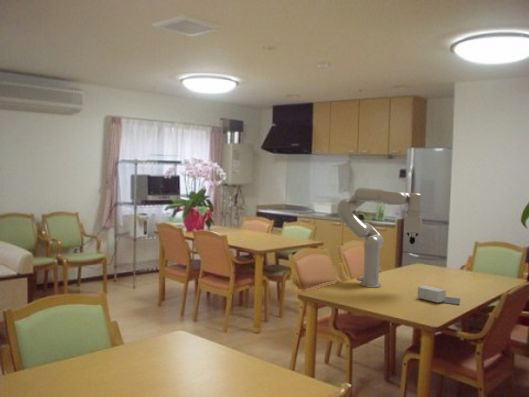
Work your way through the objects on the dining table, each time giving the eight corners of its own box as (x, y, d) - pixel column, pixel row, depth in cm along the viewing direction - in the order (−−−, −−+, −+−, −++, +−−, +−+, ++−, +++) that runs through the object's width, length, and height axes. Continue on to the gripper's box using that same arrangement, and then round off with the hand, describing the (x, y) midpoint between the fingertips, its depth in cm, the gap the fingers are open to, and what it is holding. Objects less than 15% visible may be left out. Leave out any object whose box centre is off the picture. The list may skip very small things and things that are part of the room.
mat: (424, 300, 278) (425, 299, 278) (427, 295, 291) (427, 294, 291) (459, 305, 271) (459, 304, 271) (460, 299, 284) (460, 298, 284)
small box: (417, 297, 282) (437, 302, 272) (417, 286, 282) (437, 291, 271) (425, 296, 287) (445, 301, 277) (425, 285, 287) (446, 289, 276)
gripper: (400, 213, 296) (398, 243, 297) (426, 215, 290) (424, 245, 291) (402, 212, 303) (400, 241, 304) (427, 214, 297) (425, 244, 298)
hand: (412, 243), depth 297 cm, fingers closed
